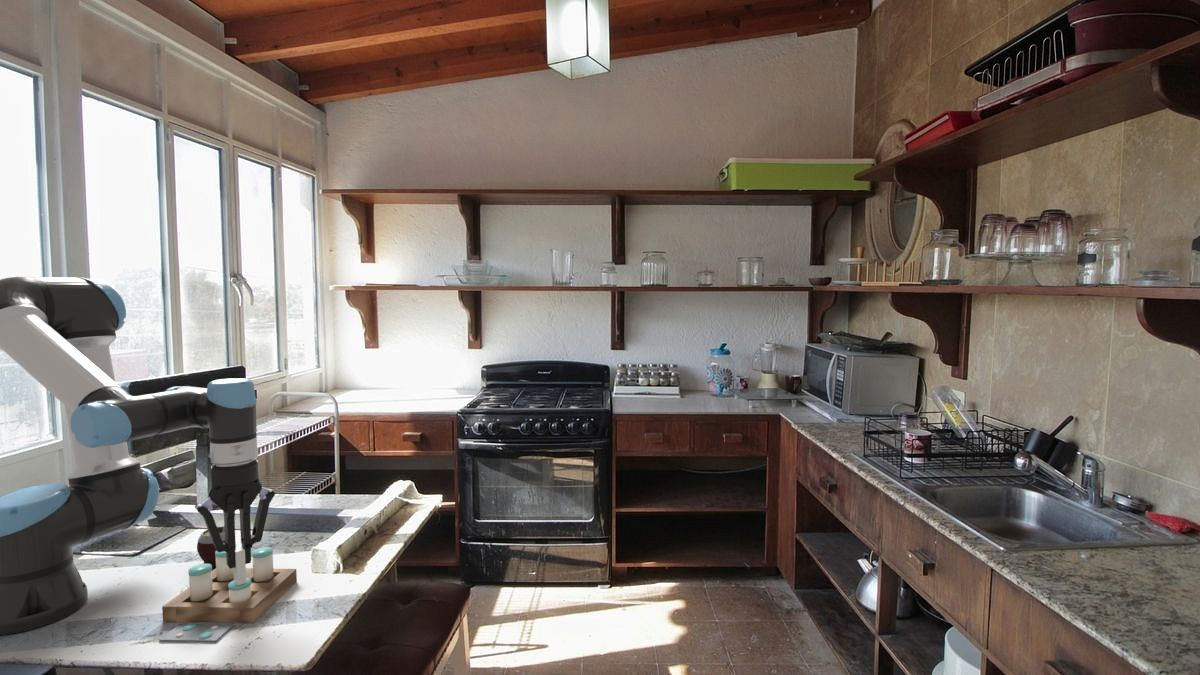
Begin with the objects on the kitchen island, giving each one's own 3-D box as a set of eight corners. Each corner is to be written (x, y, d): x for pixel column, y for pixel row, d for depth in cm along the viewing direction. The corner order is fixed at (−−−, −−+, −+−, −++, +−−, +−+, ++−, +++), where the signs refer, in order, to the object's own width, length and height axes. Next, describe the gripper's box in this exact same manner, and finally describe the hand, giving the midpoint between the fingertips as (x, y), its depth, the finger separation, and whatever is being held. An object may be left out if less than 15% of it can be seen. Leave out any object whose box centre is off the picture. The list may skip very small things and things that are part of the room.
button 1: (185, 601, 109) (183, 572, 108) (198, 591, 112) (197, 563, 112) (204, 601, 108) (203, 573, 108) (217, 591, 112) (216, 563, 112)
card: (159, 641, 101) (159, 638, 101) (180, 625, 106) (180, 622, 106) (215, 642, 101) (215, 639, 101) (234, 626, 106) (234, 623, 106)
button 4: (249, 581, 116) (247, 555, 115) (259, 572, 120) (258, 546, 119) (267, 582, 116) (266, 555, 115) (277, 573, 120) (276, 547, 119)
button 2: (212, 581, 116) (210, 554, 116) (224, 572, 120) (223, 546, 119) (230, 581, 116) (229, 554, 116) (241, 572, 120) (240, 546, 119)
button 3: (225, 615, 109) (223, 587, 108) (237, 605, 112) (236, 577, 112) (244, 615, 109) (243, 587, 108) (256, 605, 112) (255, 577, 112)
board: (162, 622, 107) (162, 606, 107) (217, 581, 122) (216, 567, 122) (253, 623, 107) (253, 607, 107) (296, 582, 122) (296, 568, 121)
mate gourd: (190, 573, 125) (187, 506, 124) (213, 556, 133) (210, 493, 132) (225, 573, 126) (222, 506, 124) (246, 556, 133) (244, 493, 132)
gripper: (197, 473, 101) (203, 601, 103) (278, 458, 110) (283, 576, 112) (188, 463, 106) (195, 586, 108) (267, 450, 115) (272, 563, 117)
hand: (240, 581), depth 110 cm, fingers closed
